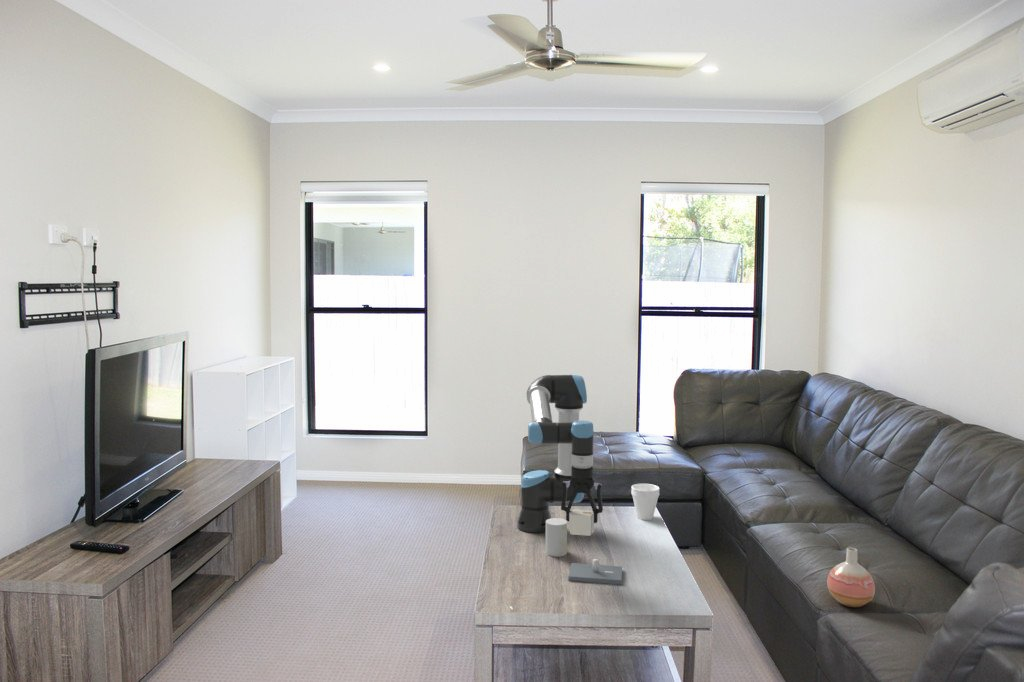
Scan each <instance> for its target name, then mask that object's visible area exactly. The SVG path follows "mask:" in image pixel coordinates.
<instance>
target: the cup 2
mask: <svg viewBox="0 0 1024 682" xmlns="http://www.w3.org/2000/svg"><path fill="white" fill-rule="evenodd" d="M630 494H631V496H632V499H633V500H632V501H633V504H634V509H635V510H634V511H635V514H636V517H637V519H638V518H639V519H638V520H641V519H642V521H651V520H653V519H654V517H655V516H654V514H655V512H656V507H657V503H658V499H659V496H660V487H659V486H658V485H655V484H651V483H635V484H632V485H631V493H630Z"/></svg>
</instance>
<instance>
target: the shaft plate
mask: <svg viewBox="0 0 1024 682" xmlns="http://www.w3.org/2000/svg"><path fill="white" fill-rule="evenodd" d="M567 577H568V578H567V579H568V581H569V582H582V583H585V582H586V583H597V584H610V585H622V583H623V581H622V580H623V578H622V577H623V566H620V565H607V564H600V559H598V558H593V559H592V563H578V562H575V563H574V562H571V564H570V568H569V573H568V576H567Z"/></svg>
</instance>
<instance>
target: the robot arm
mask: <svg viewBox="0 0 1024 682" xmlns="http://www.w3.org/2000/svg"><path fill="white" fill-rule="evenodd" d="M587 399H588V395H587V388H586V382H585V379H584V378H583V376H581V375H577V374H576V375H575V374H554V375H553V374H546V375H541V376H539V377H537V378H536V379H534V380H533V382H531V383H530V385H529V386H528V388H527V390H526V400H527V403H528V404H529V405H530V407H529V408H530V414H531V415H530V416H531V422H529V423H528V425H527V440H528V442H529V443H530V444H538V445H541V444H542V445H543V444H558V445H557V446H558V447H557V449H558V450H557V467H556V468H555V469H554V471H553V474H550V472H549V471H548V470H543V469H537V470H532V471H528V472H526V473H524V474H523V475H522V477H521V485H520V488H521V502H520V503H521V505H520V506H521V507H520V510H519V515H518V517H517V518H518V519H517V521H516V526H517V527H516V528H517V529H518V530H520V531H521V532H522V531H523V532H526V533H535V534H536V533H537V534H538V533H539V534H540V533H546V520H547V519H551V518H553V517H552V514H551V511H550V503H551V504H561V505H560V511H564V512H565V513H566V514H565V520H566V521H567V522H568V525H569V526H568V529H569V530H568V531H569V532H570V515H571V512H572V510H571V508H572V507H573V504H575V503H576V504H577V503H580V502H582V501H583V500H584V496H585V494H586V496H587V498H588V501H589V504H590V507H591V510H593V512H592V516H591V534H594V532H595V524H597V522H598V517H599V516H598V514H601V513H603V510H604V509H603V500H602V499H603V497H602V491H601V490H602V485H603V484H602V482H599V483H598V482H595V480H594V467H593V466H594V433H595V431H594V424H593V422H592V421H589V420H580V412H581V410H582V409H583V408H584V404H586V403H587ZM550 404H554V408H555V409H556V410H557V411H558V422H553V417H552V412H551V405H550ZM593 487H594V489H595V490H596V496H597V497H596V499H597V505H596V503H595V498H594V496H593V494H592V490H591V489H592V488H593ZM566 504H567V506H566Z"/></svg>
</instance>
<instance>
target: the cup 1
mask: <svg viewBox="0 0 1024 682" xmlns="http://www.w3.org/2000/svg"><path fill="white" fill-rule="evenodd" d="M567 553H568V521H566V519H565V518H560V517H559V518H558V517H552V518H551V519H547V520H546V532H545V554H546V555H548V556H551V557H563V556H566V555H567Z"/></svg>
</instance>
